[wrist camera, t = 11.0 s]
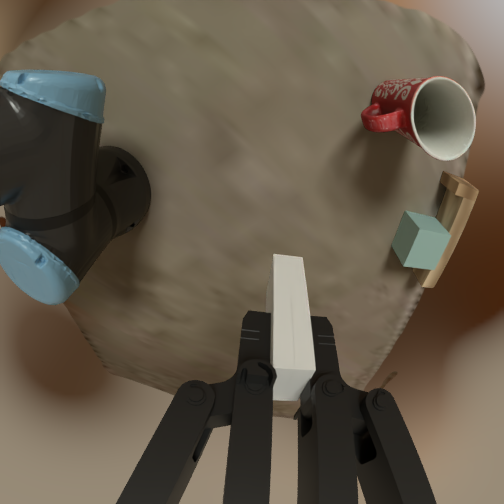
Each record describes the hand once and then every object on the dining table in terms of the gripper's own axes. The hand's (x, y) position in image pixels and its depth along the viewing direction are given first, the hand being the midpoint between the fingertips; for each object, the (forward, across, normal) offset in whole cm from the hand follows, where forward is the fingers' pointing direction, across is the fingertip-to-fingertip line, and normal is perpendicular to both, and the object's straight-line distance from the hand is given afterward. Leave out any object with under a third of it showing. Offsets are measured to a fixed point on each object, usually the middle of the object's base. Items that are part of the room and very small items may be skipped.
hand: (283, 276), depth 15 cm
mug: (+27, +14, +10) cm, 32 cm away
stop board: (+26, +30, -7) cm, 41 cm away
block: (+27, +26, -9) cm, 38 cm away
